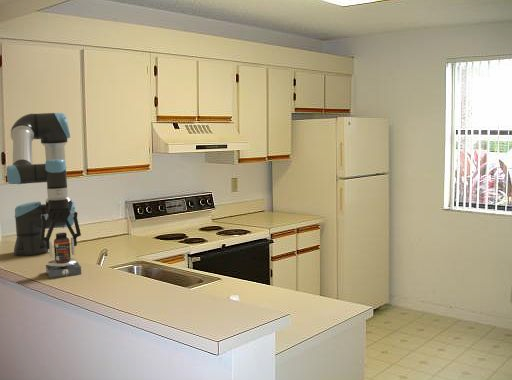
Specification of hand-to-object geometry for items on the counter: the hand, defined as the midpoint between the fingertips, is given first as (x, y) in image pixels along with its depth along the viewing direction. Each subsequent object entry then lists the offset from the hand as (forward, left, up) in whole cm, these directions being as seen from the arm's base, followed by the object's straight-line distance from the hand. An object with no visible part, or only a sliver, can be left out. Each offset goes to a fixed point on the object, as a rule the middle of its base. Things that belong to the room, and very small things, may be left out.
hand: (62, 255), depth 229 cm
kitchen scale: (0, 0, -7) cm, 7 cm away
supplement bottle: (0, 0, -3) cm, 3 cm away
